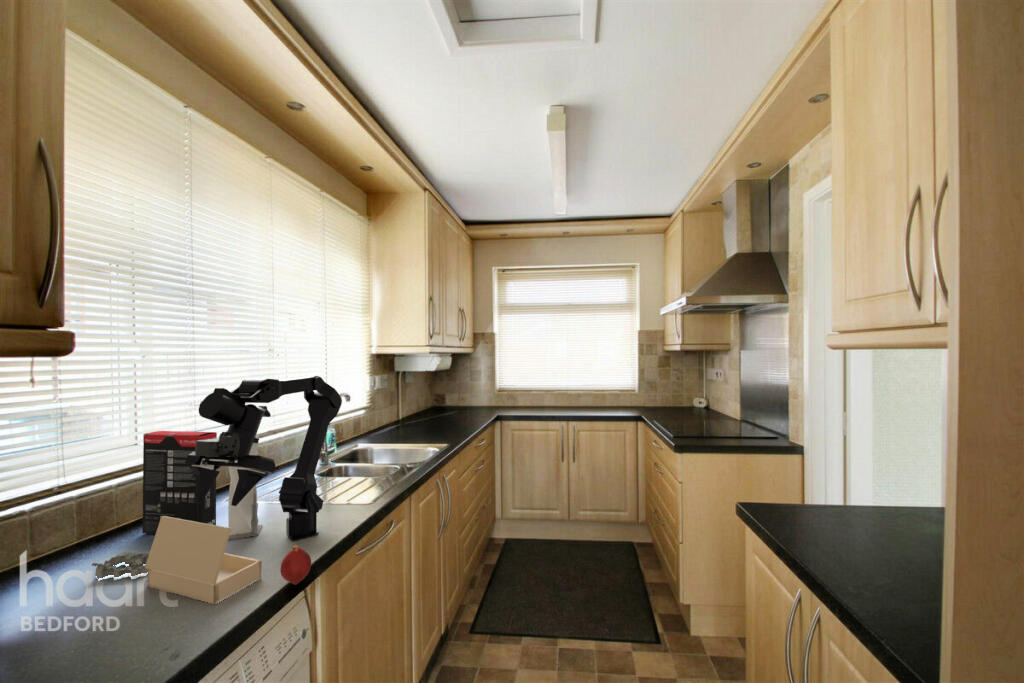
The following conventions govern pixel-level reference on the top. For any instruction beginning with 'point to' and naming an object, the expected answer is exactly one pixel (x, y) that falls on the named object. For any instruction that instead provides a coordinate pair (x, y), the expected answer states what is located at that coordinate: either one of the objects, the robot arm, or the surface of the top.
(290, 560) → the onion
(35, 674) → the top surface
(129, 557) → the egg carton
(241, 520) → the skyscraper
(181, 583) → the mailer box
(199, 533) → the lid
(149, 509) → the graphics card box
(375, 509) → the top surface
